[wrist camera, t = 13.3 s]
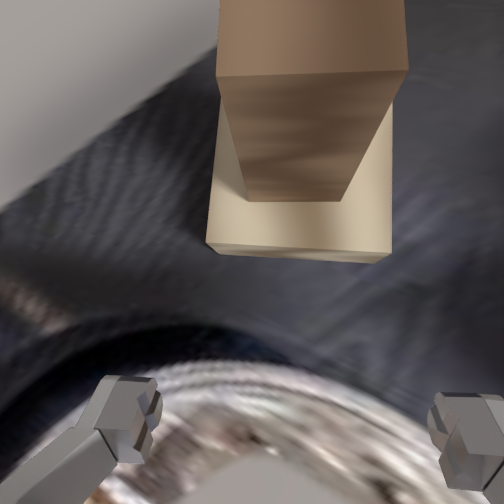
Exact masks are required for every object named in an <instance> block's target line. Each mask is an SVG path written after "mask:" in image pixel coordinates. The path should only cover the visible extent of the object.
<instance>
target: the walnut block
mask: <svg viewBox="0 0 504 504" xmlns="http://www.w3.org/2000/svg"><path fill="white" fill-rule="evenodd" d="M408 70H409V68H408V54H407V40H406V25H405V11H404V0H220V9H219V28H218V46H217V65H216V79H217V83H218V87H219V90H220V94H221V98H222V101H223V105H224V109H225V113H226V116H227V120H228V124H229V128H230V131H231V135H232V139H233V142H234V146H235V150H236V154H237V157H238V161H239V165H240V169H241V172H242V176H243V180H244V184H245V187H246V191H247V195H248V198H249V202H340V201H341V200H342V198H343V196H344V194H345V192H346V190H347V188H348V186H349V184H350V182H351V180H352V178H353V176H354V174H355V173H356V171H357V169H358V167H359V165H360V163H361V161H362V159H363V157H364V155H365V153H366V151H367V149H368V147H369V146H370V144H371V142H372V140H373V138H374V136H375V134H376V132H377V130H378V128H379V126H380V124H381V122H382V120H383V118H384V117H385V115H386V113H387V111H388V109H389V107H390V105H391V103H392V101H393V99H394V97H395V95H396V93H397V91H398V90H399V88H400V86H401V84H402V82H403V80H404V78H405V76H406V74H407V72H408Z"/></svg>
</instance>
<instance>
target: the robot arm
mask: <svg viewBox="0 0 504 504" xmlns="http://www.w3.org/2000/svg"><path fill="white" fill-rule="evenodd" d="M157 385H158V384H157V382H156V379H155V378H146V377H129V376H115V375H105V376H104V377H103V378H102V379H101V381H100V382H99V384H98V386H97V388H96V390H95V392H94V393H93V395H92V397H91V399H90V401H89V403H88V405H87V406H86V408H85V410H84V412H83V414H82V416H81V417H80V419H79V421H78V423H77V425H76V427H75V428H73V427H70V428H69V429H68V430H66V431H65V432H64V433H63V434H62V435H60V436H59V437H58V438H57V439H55V440H54V441H53V442H52V443H50V444H49V445H48V446H47V447H45V448H44V449H43V450H42V451H41V452H39V453H38V454H37V455H36V456H34V457H33V458H32V459H31V460H29V461H28V462H27V463H26V464H24V465H23V466H22V467H21V468H20V469H18V470H17V471H16V472H15V473H13V474H12V475H11V476H10V477H8V478H7V479H6V480H5V481H3V482H2V483H1V484H0V504H83V503H84V502H85V501H86V499H87V498H88V497H89V496H90V495H91V494H92V493H93V492H94V490H95V489H96V488H97V487H98V486H99V485H100V484H101V483H102V481H103V480H104V479H105V478H106V477H107V476H108V475H109V474H110V472H111V471H112V470H113V469H114V468H115V467H116V466H117V463H138V464H146V461H147V458H148V455H149V452H150V449H151V446H152V443H153V438H152V435H151V432H152V431H153V430H154V429H155V428H156V427H157V426H158V425H159V422H160V418H161V415H162V408H163V401H162V396H161V393H159V392H158V391H157V390H156V388H157ZM434 401H435V403H436V405H435V406H434V407H432V408H430V410H429V413H428V429H429V434H430V437H431V440H432V443H433V444H434V445H435V446H436V447H437V448H438V449H439V450H440V451H441V455H440V458H439V464H440V467H441V470H442V472H443V475H444V478H445V481H446V484H447V487H448V488H452V489H461V490H471V491H480V492H483V493H482V494H483V495H484V496H485V497H486V498H487V500H488V501H489V502H490V503H491V504H504V399H503V398H502V397H501V396H500V395H496V394H477V393H456V392H439V393H437V394H436V396H435V398H434Z"/></svg>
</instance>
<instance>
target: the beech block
mask: <svg viewBox="0 0 504 504" xmlns="http://www.w3.org/2000/svg"><path fill="white" fill-rule="evenodd" d="M206 243H207V244H208V245H209V246H210V247H211V248H213V249H214V250H215V251H216V252H217V253H218V254H226V255H243V256H260V257H276V258H293V259H310V260H326V261H343V262H360V263H376V262H378V261H379V260H381V259H383V258H384V257H386V256H387V255H389V254H391V253H392V103H391V105H390V107H389V109H388V111H387V113H386V115H385V117H384V118H383V120H382V122H381V124H380V126H379V128H378V130H377V132H376V134H375V136H374V138H373V140H372V142H371V144H370V146H369V147H368V149H367V151H366V153H365V155H364V157H363V159H362V161H361V163H360V165H359V167H358V169H357V171H356V173H355V174H354V176H353V178H352V180H351V182H350V184H349V186H348V188H347V190H346V192H345V194H344V196H343V198H342V200H341V201H340V202H249V198H248V195H247V191H246V187H245V184H244V180H243V176H242V172H241V169H240V165H239V161H238V157H237V154H236V150H235V146H234V142H233V139H232V135H231V131H230V128H229V124H228V120H227V116H226V113H225V109H224V105H223V101H222V98H221V104H220V113H219V122H218V131H217V141H216V150H215V159H214V169H213V178H212V187H211V197H210V206H209V215H208V225H207V234H206Z"/></svg>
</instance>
